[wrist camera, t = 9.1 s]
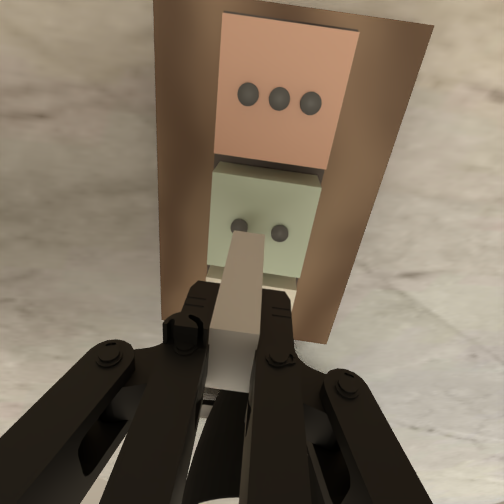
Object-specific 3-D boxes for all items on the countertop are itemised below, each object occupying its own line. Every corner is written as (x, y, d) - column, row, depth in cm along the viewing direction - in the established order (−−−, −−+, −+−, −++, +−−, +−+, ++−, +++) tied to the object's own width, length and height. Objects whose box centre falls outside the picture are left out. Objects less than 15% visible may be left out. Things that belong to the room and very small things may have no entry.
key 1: (208, 320, 26) (201, 345, 23) (212, 258, 23) (204, 279, 20) (281, 331, 26) (281, 357, 23) (295, 270, 23) (296, 293, 20)
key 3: (221, 144, 19) (212, 154, 16) (229, 20, 16) (221, 11, 13) (321, 158, 19) (326, 171, 16) (349, 37, 16) (361, 31, 13)
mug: (366, 418, 34) (404, 570, 24) (243, 452, 39) (230, 589, 29) (292, 316, 28) (300, 461, 17) (158, 373, 33) (102, 510, 23)
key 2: (213, 246, 22) (205, 266, 20) (219, 161, 19) (211, 173, 17) (297, 258, 22) (299, 280, 20) (317, 175, 19) (322, 189, 17)
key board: (168, 304, 28) (161, 320, 26) (165, -6, 17) (152, -15, 15) (323, 327, 28) (326, 345, 26) (418, 30, 17) (435, 25, 15)
